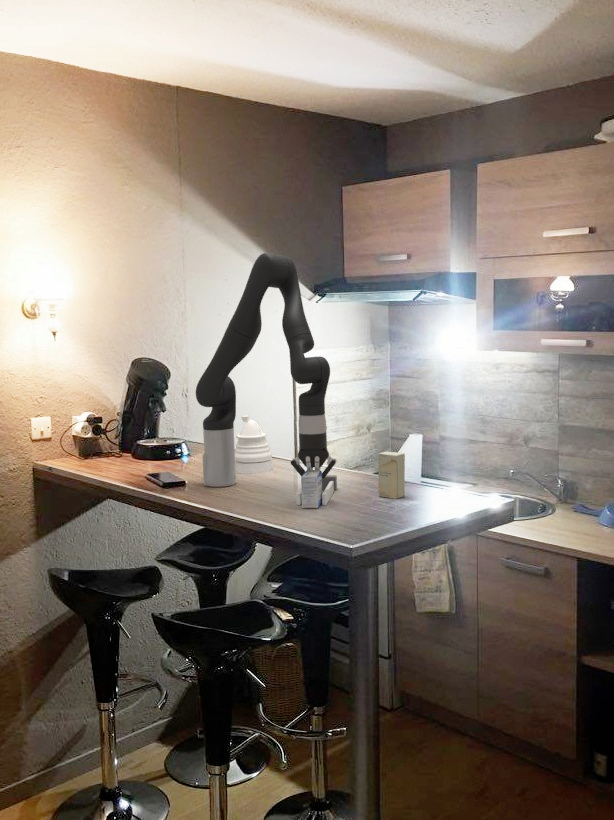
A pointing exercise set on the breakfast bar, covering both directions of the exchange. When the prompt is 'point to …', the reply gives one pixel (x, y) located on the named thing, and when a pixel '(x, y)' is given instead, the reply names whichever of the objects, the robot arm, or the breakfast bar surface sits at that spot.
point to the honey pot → (252, 449)
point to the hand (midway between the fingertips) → (314, 493)
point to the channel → (323, 489)
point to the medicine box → (311, 489)
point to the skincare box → (391, 474)
